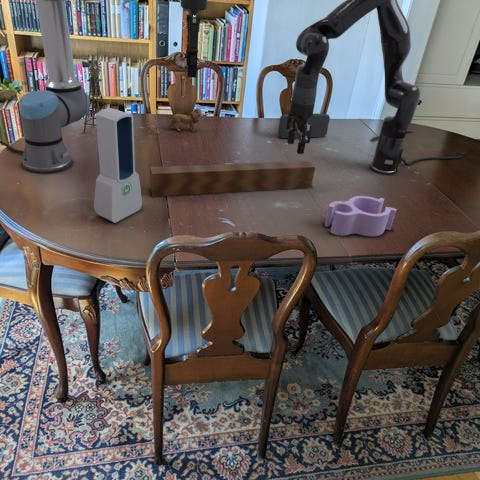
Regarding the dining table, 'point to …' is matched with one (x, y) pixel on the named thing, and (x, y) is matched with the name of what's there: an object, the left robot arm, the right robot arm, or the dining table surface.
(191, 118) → the lion figurine
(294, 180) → the beam
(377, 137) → the sword
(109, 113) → the electronic device
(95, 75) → the miniature windmill
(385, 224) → the clip
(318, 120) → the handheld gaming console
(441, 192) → the dining table surface
